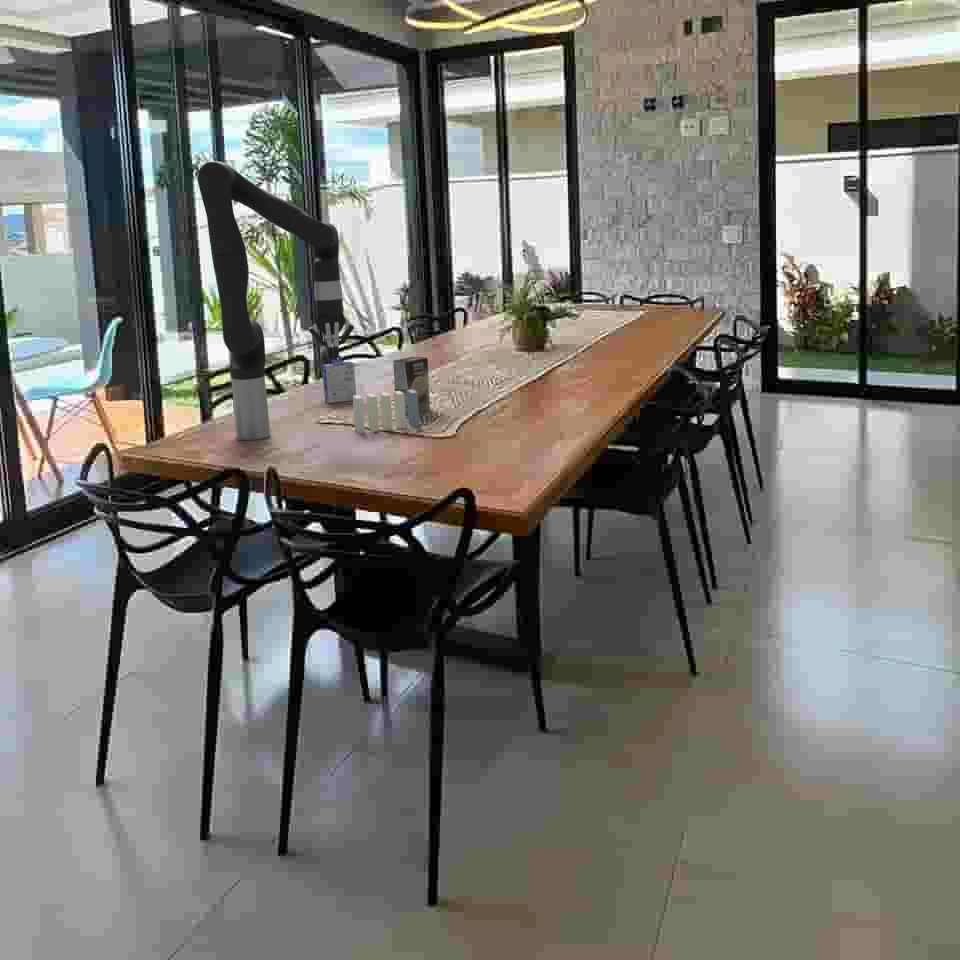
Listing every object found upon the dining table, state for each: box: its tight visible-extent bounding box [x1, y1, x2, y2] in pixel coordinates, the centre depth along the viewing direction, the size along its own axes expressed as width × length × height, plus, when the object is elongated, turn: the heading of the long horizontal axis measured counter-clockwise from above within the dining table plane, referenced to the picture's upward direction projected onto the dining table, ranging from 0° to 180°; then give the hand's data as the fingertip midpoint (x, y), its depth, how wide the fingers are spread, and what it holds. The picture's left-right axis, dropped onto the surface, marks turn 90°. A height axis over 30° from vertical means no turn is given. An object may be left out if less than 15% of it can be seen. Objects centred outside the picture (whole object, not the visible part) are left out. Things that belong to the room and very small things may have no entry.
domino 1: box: [352, 394, 366, 434], centre depth 311 cm, size 2×5×10 cm, turn 18°
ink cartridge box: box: [321, 355, 357, 404], centre depth 356 cm, size 10×6×14 cm, turn 115°
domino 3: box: [379, 391, 394, 431], centre depth 314 cm, size 2×5×10 cm, turn 18°
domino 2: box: [365, 393, 380, 433], centre depth 312 cm, size 2×5×10 cm, turn 18°
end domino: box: [407, 390, 420, 428], centre depth 316 cm, size 2×5×10 cm, turn 18°
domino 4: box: [393, 390, 407, 429], centre depth 315 cm, size 2×5×10 cm, turn 18°
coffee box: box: [392, 356, 431, 415], centre depth 335 cm, size 9×6×16 cm
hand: (333, 360), depth 305 cm, fingers closed
